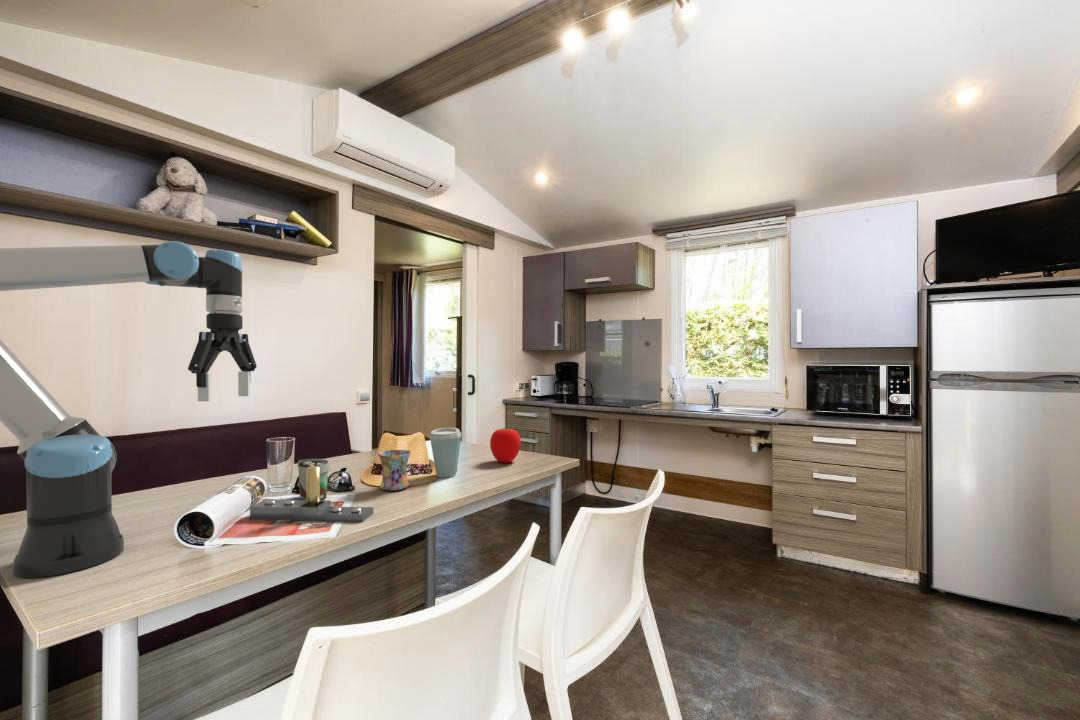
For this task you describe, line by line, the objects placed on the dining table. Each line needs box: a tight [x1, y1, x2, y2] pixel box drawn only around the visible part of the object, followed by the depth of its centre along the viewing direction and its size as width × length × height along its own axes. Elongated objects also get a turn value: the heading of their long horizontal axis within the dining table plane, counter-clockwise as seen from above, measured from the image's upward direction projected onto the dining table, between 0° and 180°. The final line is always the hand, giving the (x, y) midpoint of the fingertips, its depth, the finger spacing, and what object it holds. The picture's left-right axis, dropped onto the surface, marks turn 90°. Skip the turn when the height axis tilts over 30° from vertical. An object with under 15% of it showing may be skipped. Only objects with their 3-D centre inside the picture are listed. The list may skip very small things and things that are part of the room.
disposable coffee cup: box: [428, 427, 462, 478], centre depth 156 cm, size 11×11×15 cm
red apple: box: [489, 426, 522, 464], centre depth 174 cm, size 11×11×13 cm
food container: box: [297, 458, 332, 500], centre depth 132 cm, size 12×6×10 cm, turn 47°
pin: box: [306, 466, 320, 507], centre depth 116 cm, size 3×3×12 cm
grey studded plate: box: [249, 498, 374, 523], centre depth 116 cm, size 28×6×4 cm, turn 86°
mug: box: [377, 449, 412, 492], centre depth 141 cm, size 12×9×11 cm
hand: (225, 398), depth 118 cm, fingers open, 13 cm apart
